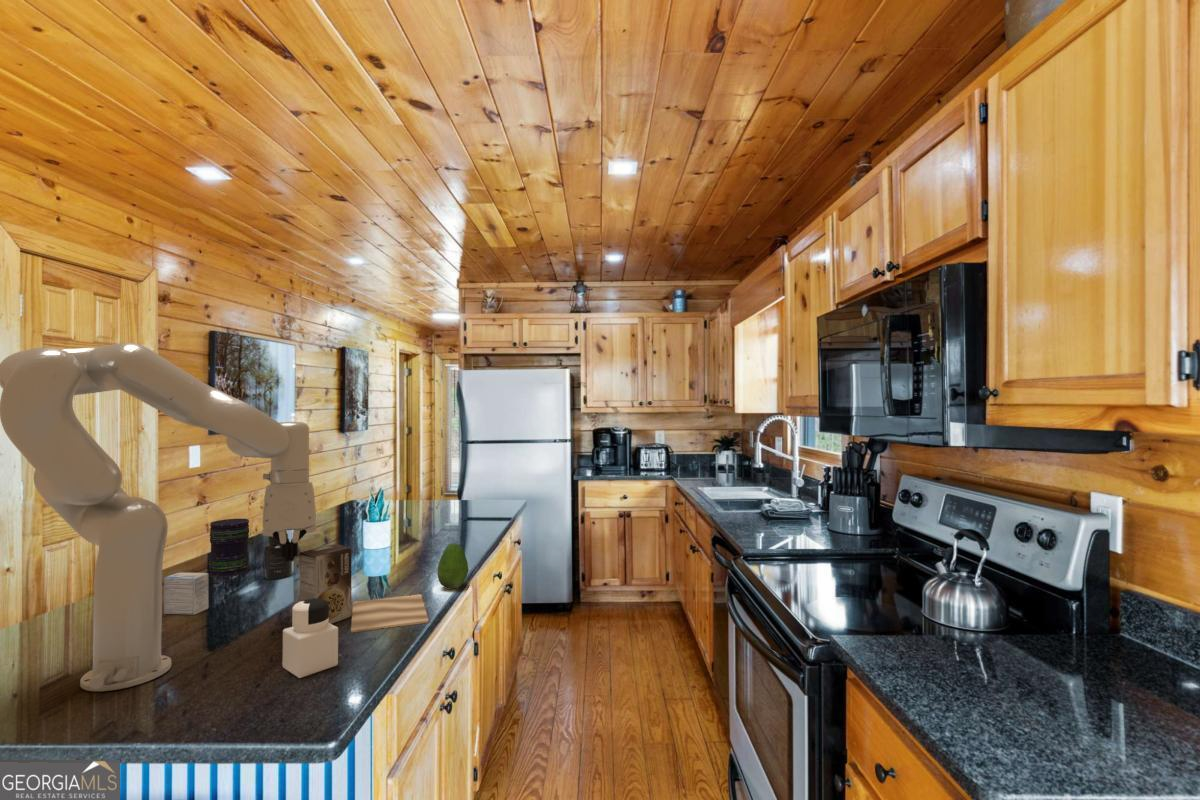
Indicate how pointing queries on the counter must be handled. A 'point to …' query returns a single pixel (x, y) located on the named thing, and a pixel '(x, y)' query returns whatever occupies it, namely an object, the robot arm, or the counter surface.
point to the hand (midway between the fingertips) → (289, 560)
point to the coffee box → (328, 579)
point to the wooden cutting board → (388, 613)
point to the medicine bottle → (310, 639)
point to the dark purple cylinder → (229, 547)
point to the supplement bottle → (276, 561)
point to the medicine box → (186, 593)
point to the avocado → (452, 567)
